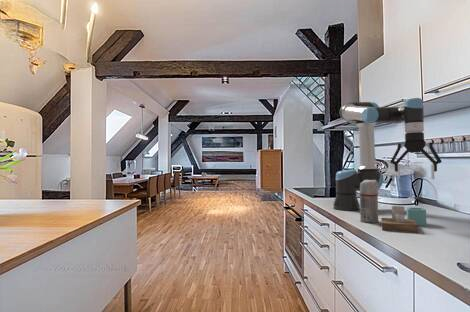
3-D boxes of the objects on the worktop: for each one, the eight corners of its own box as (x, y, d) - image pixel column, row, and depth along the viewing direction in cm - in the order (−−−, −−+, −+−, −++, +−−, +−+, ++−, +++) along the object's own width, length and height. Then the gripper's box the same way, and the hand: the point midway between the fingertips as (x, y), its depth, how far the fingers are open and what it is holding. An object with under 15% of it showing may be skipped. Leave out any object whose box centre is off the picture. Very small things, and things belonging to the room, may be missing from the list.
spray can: (380, 223, 145) (380, 180, 145) (362, 223, 147) (361, 180, 147) (376, 220, 153) (375, 179, 154) (358, 219, 155) (357, 179, 155)
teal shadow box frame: (406, 222, 148) (406, 207, 148) (424, 223, 145) (423, 207, 145) (408, 224, 141) (408, 209, 141) (426, 226, 138) (426, 210, 138)
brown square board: (381, 224, 143) (381, 203, 143) (414, 226, 138) (413, 204, 138) (382, 230, 132) (381, 207, 132) (417, 232, 126) (417, 209, 126)
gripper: (384, 133, 145) (385, 179, 145) (448, 130, 135) (449, 179, 135) (383, 134, 152) (385, 178, 152) (444, 131, 142) (446, 178, 141)
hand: (415, 178), depth 143 cm, fingers open, 13 cm apart
